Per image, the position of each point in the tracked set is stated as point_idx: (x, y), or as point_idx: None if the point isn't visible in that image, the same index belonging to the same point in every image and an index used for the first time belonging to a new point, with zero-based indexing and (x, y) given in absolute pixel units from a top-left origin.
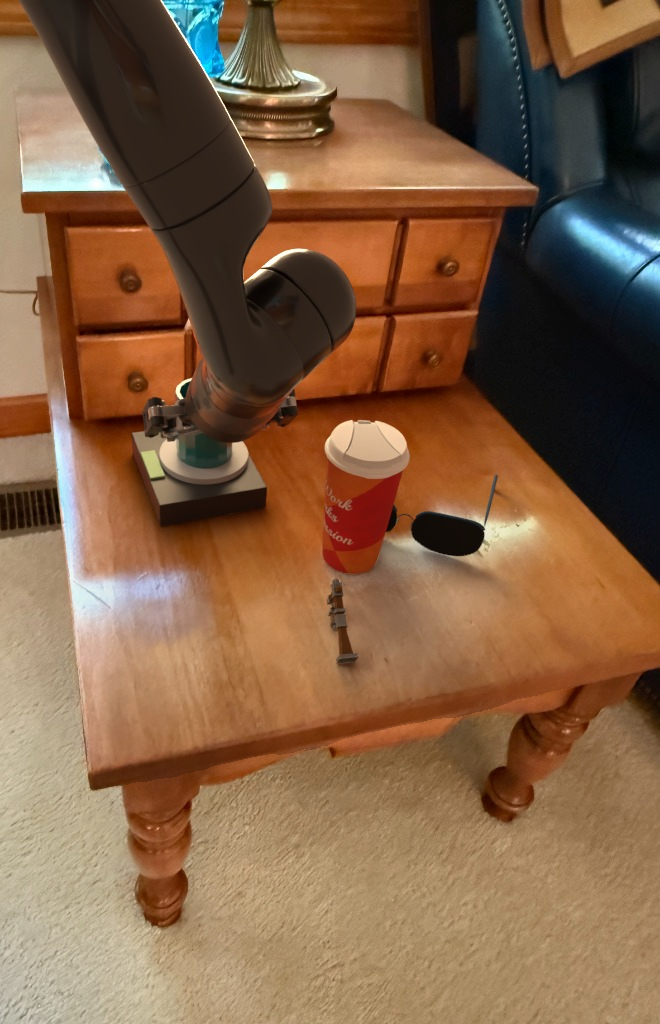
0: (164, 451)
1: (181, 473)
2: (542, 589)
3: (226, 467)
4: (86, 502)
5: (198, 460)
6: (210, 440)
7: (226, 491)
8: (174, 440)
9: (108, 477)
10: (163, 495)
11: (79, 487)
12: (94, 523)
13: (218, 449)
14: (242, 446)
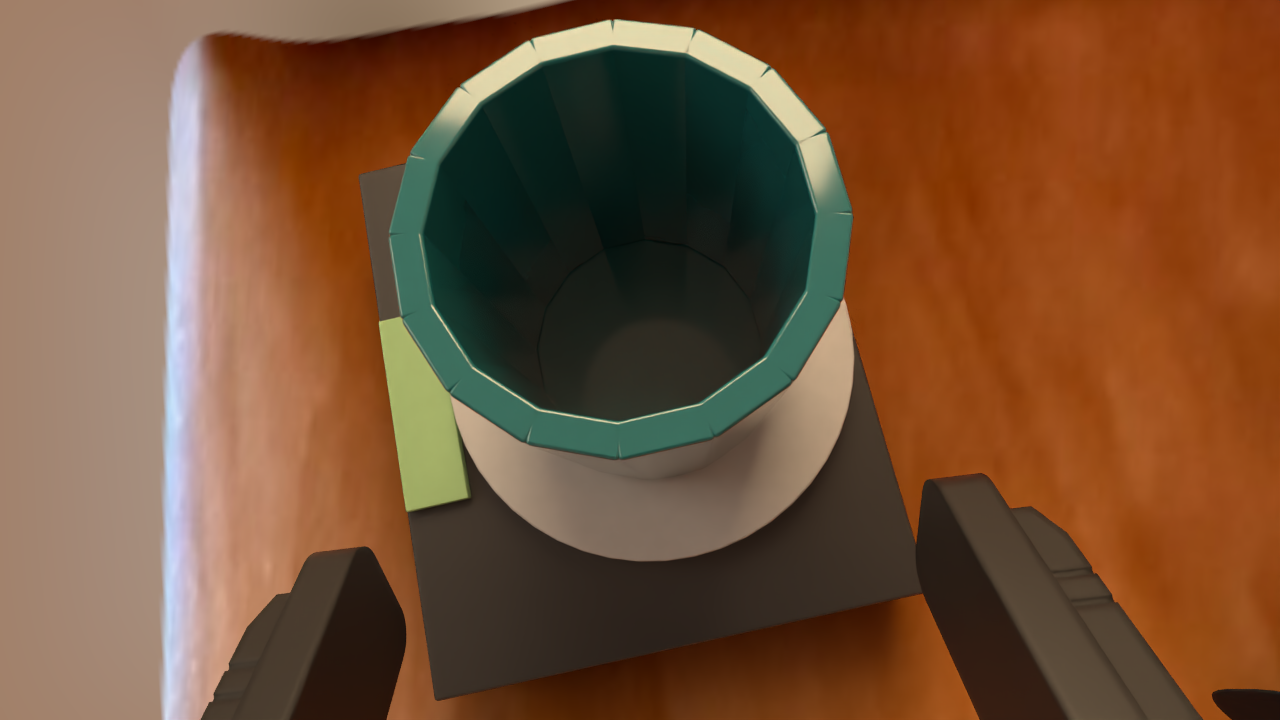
0: None
1: (533, 514)
2: None
3: (744, 474)
4: (223, 503)
5: (608, 473)
6: (660, 471)
7: (735, 617)
8: (393, 683)
9: (307, 357)
10: (456, 627)
11: (206, 413)
12: (241, 630)
13: (707, 463)
14: None
